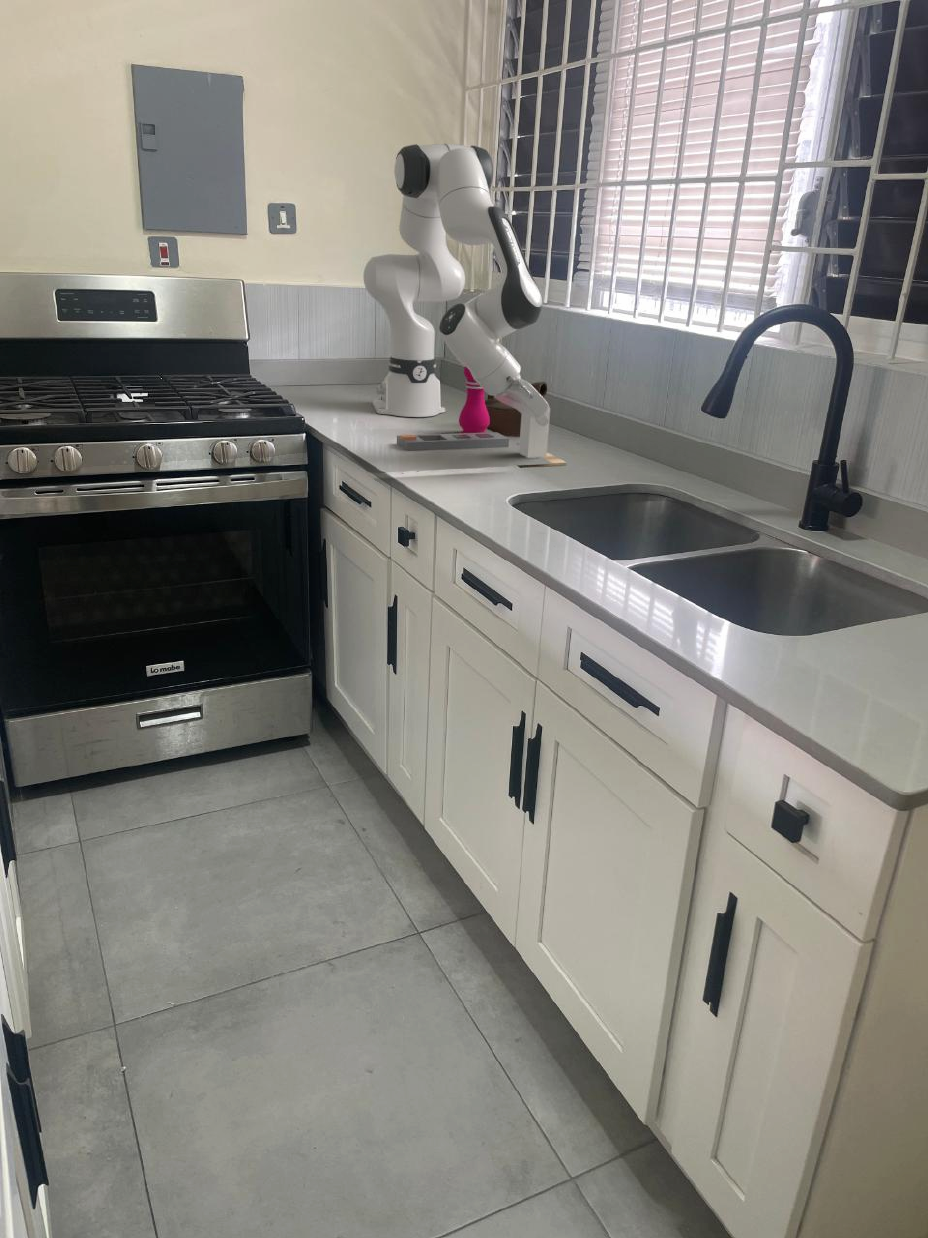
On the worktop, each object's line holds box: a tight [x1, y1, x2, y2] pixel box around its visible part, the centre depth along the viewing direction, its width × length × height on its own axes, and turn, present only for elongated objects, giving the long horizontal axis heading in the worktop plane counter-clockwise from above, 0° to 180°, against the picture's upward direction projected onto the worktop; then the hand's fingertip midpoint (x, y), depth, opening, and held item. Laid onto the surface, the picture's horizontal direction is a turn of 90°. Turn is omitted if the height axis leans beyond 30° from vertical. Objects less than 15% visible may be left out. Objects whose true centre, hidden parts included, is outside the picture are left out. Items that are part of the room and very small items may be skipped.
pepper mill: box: [458, 366, 490, 434], centre depth 216 cm, size 7×7×20 cm
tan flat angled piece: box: [516, 452, 568, 468], centre depth 203 cm, size 11×11×1 cm
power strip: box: [396, 431, 520, 452], centre depth 209 cm, size 7×32×4 cm, turn 111°
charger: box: [518, 407, 551, 460], centre depth 201 cm, size 4×4×11 cm
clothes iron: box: [484, 381, 548, 437], centre depth 226 cm, size 8×16×13 cm, turn 51°
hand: (538, 420), depth 200 cm, fingers open, 6 cm apart
